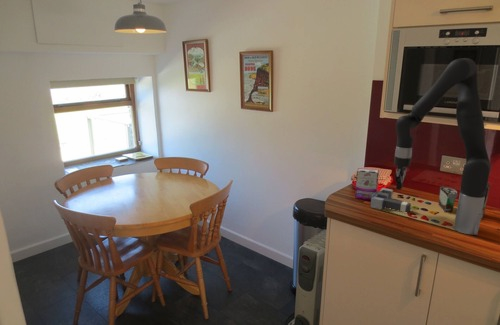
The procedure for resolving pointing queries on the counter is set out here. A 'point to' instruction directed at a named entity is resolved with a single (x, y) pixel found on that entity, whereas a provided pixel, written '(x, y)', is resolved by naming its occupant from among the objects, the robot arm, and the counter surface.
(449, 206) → the food container
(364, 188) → the candy bar box
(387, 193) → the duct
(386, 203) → the dark grey bar
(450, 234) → the counter surface
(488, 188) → the coffee box
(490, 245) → the counter surface
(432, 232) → the counter surface
